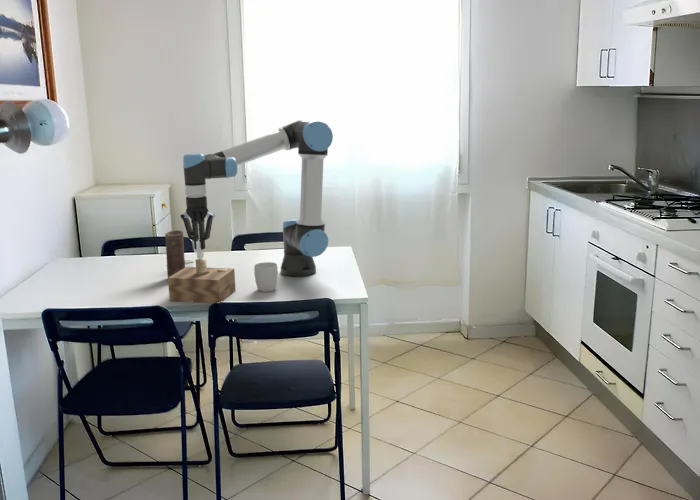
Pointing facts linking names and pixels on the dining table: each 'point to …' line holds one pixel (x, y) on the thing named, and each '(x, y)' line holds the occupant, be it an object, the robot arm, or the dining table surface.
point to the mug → (266, 276)
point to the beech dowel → (201, 266)
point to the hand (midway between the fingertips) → (200, 257)
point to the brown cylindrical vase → (174, 252)
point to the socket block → (202, 285)
